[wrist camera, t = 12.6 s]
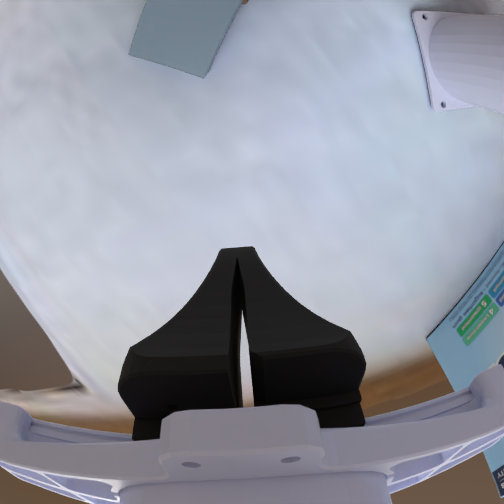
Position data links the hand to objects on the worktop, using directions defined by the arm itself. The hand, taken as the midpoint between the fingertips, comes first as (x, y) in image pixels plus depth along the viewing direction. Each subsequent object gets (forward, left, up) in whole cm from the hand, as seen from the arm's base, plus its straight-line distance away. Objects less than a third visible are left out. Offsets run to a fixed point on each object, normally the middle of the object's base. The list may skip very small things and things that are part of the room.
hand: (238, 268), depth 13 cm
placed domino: (+1, -9, -10) cm, 13 cm away
